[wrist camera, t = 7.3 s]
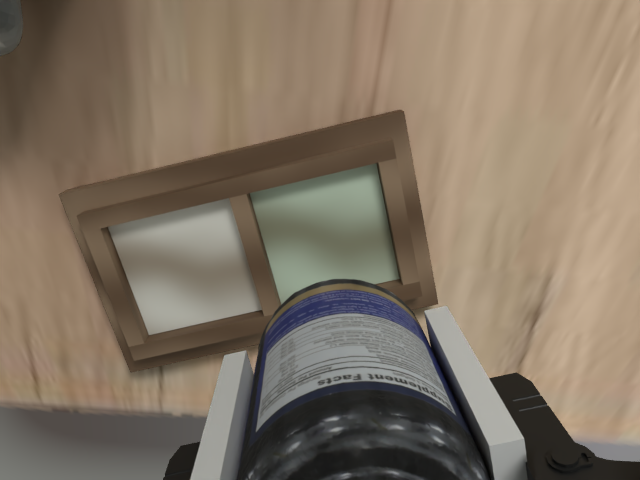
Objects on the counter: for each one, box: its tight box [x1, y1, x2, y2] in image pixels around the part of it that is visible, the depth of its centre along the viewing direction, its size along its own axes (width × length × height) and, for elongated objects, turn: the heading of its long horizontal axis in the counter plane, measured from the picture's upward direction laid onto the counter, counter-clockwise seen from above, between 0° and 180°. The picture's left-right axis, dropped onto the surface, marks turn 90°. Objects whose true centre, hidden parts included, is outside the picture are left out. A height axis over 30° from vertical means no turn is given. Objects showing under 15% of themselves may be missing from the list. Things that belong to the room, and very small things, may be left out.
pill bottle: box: [237, 279, 491, 480], centre depth 14 cm, size 6×6×11 cm
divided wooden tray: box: [59, 110, 438, 372], centre depth 32 cm, size 12×20×2 cm, turn 103°
